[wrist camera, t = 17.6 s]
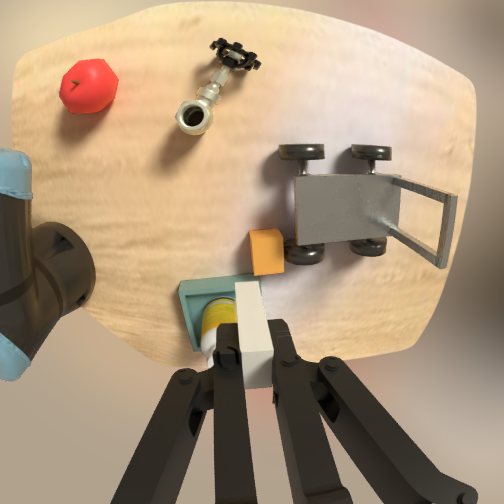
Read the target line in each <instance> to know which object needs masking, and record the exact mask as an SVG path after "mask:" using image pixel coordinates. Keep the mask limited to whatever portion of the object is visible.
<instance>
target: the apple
mask: <svg viewBox="0 0 504 504" xmlns="http://www.w3.org/2000/svg"><path fill="white" fill-rule="evenodd" d="M118 81H119V79H118V78H117V76H116V75H115V73H114V72H113V71H112V69H111V68H110V67H109V65H108V64H107V63H106V61H105V60H104V59H90V60H81V61H79V62H77V63H76V64H75V65H74V66H73V67H72V68H71V69H70V70H69V71H68V72H67V73H66V74H65V75H64V76H63V79H62V83H61V88H60V92H59V97H60V99H61V100H62V102H63V103H64V105H65V106H66V108H67V110H68V111H69V112H71V113H73V114H80V113H94V112H98V111H101V110H102V109H103V108H104V107H105V106H106V105H107V104H109V103H110V102H111V101H112V100H113V99H114V98H115V94H116V90H117V85H118Z"/></svg>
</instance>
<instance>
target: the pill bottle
mask: <svg viewBox="0 0 504 504" xmlns="http://www.w3.org/2000/svg"><path fill="white" fill-rule="evenodd" d="M220 323H237V312H236V299H234V298H232V297H228V296H220V297H216V298H213V299H212V300H210V301H209V302H208V303H207V304H206V305H205V307H204V310H203V319H202V333H201V350H202V352H203V354H204V356H205V357H206V358H207V366H208V369H209V368H211V367H212V366H213V365H214V363H213V356H212V354H213V351H214V350H215V349H216V329H217V327H218V326H219V324H220Z"/></svg>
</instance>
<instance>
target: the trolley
mask: <svg viewBox="0 0 504 504" xmlns="http://www.w3.org/2000/svg"><path fill="white" fill-rule="evenodd" d="M279 157H280V159H281V160H298V167H299V174H298V175H295V176H293V177H294V205H295V238H291V239H288V240H286V241H285V242H284V244H283V248H284V259H285V260H286V261H287V262H289V263H292V264H296V265H313V264H317V263H319V262H321V261H322V260H323V259H324V251H325V244H324V243H328V242H338V241H348V240H350V250H351V251H352V252H354V253H356V254H358V255H362V256H368V257H376V256H381V255H383V254H385V252H386V245H387V238H386V236H393V237H394V238H396V239H397V240H399V241H400V242H402V243H403V244H405V245H406V246H408V247H409V248H411V249H412V250H414V251H415V252H417V253H418V254H419V255H421V256H422V257H424V258H425V259H426V260H428V261H429V262H431V263H432V264H433V265H435V266H436V267H437V268H439V269H444V268H446V266H447V262H448V257H449V252H450V247H451V242H452V236H453V230H454V223H455V216H456V207H457V198H458V196H457V195H454V194H451V193H448V192H446V191H443V190H440V189H437V188H434V187H431V186H428V185H425V184H421V183H418V182H415V181H412V180H408V179H405V178H401V175H397V174H381V173H377V172H375V160H386V161H389V160H392V151H391V147H387V146H376V145H357V144H352V158H357V159H368V174H318V175H312V174H309V173H307V167H306V160H318V159H325V156H324V144H284V145H279ZM401 187H402V188H404V189H407V190H410V191H413V192H416V193H418V194H421V195H424V196H426V197H429V198H432V199H434V200H437V201H439V202H442V203H444V207H443V216H442V224H441V231H440V237H439V244H438V249H437V252H436V251H435V250H433V249H432V248H430V247H429V246H427V245H426V244H424V243H422V242H421V241H419V240H418V239H416V238H414V237H413V236H411V235H409V234H408V233H406V232H404V231H403V230H401V229H399V228H398V221H399V210H400V195H401Z"/></svg>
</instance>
